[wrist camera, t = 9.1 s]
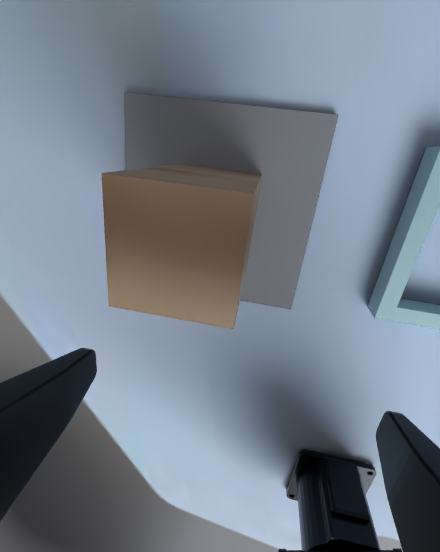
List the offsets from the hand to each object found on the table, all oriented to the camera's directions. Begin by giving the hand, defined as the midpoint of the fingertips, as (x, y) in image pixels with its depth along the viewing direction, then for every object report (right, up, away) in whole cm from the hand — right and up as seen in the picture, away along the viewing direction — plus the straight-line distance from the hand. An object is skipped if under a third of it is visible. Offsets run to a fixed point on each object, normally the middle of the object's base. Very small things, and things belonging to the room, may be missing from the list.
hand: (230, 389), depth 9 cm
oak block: (-1, +8, +9) cm, 12 cm away
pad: (-1, +8, +10) cm, 12 cm away
